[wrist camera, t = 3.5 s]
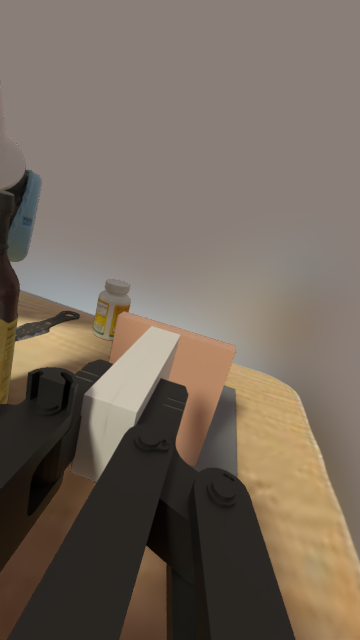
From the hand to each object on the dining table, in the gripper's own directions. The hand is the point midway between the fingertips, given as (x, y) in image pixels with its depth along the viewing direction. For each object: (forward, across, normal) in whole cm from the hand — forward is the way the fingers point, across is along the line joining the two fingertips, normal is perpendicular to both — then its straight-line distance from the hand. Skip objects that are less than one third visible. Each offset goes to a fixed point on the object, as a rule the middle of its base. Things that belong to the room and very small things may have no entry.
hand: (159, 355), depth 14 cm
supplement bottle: (+31, -14, -14) cm, 37 cm away
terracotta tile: (+9, 0, -14) cm, 17 cm away
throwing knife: (+25, -24, -14) cm, 38 cm away
